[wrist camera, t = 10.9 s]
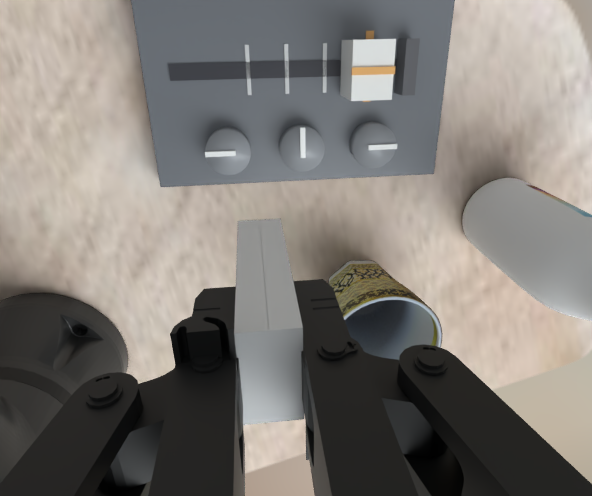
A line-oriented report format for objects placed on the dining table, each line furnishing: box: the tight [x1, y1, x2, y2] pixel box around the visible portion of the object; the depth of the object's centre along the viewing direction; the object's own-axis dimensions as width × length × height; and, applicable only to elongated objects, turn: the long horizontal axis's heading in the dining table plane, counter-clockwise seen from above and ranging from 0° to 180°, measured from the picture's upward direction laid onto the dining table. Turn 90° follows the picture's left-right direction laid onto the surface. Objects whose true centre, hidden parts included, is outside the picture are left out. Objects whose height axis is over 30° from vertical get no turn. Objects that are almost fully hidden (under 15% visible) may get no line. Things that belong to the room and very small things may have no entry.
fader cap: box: [340, 39, 396, 101], centre depth 32 cm, size 3×4×4 cm
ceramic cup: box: [329, 261, 442, 360], centre depth 42 cm, size 13×10×10 cm
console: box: [131, 0, 455, 187], centre depth 35 cm, size 24×16×4 cm, turn 91°
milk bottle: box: [462, 178, 592, 321], centre depth 35 cm, size 8×8×20 cm
